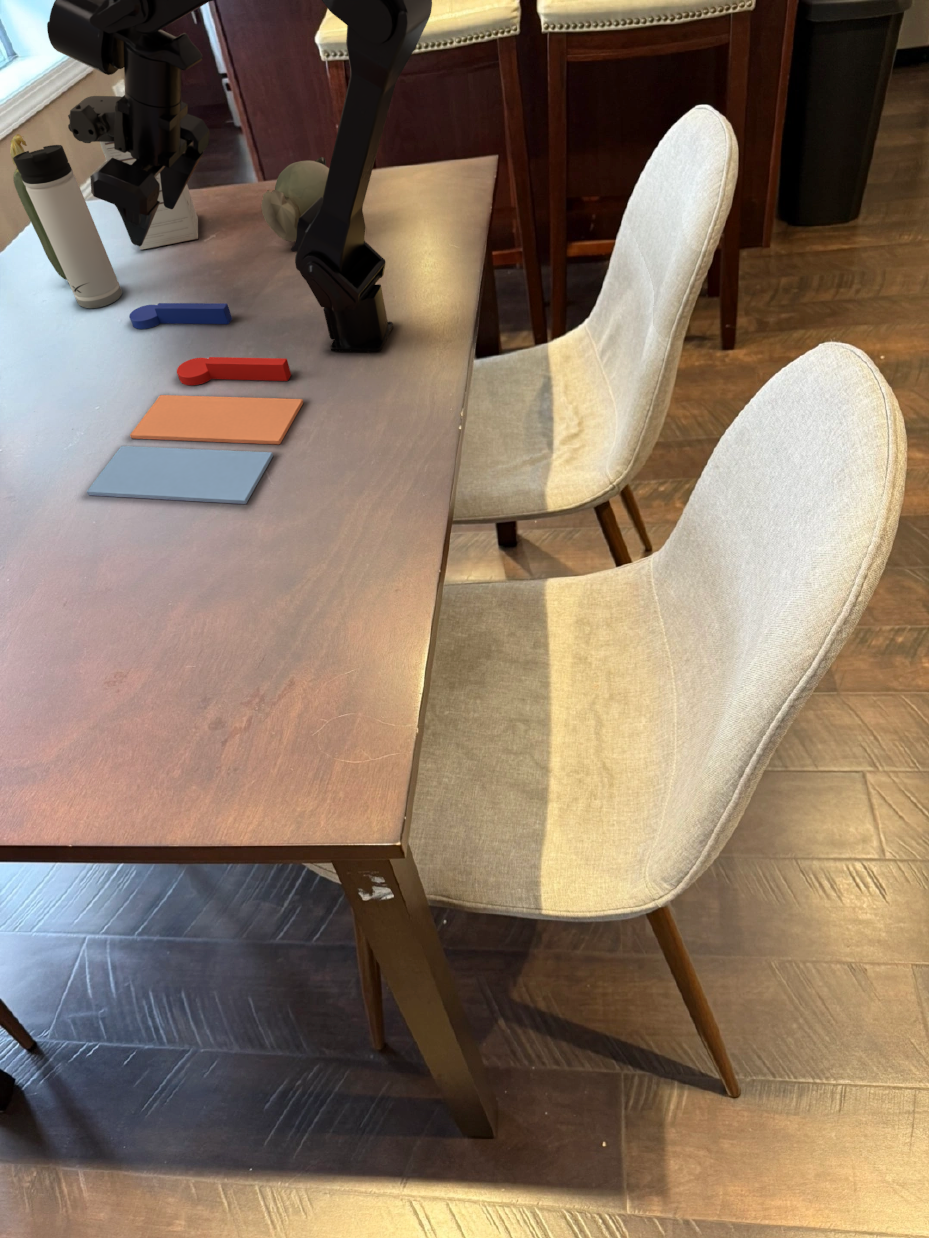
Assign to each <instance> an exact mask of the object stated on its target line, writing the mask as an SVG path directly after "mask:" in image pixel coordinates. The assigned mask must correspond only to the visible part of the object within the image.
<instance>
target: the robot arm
mask: <svg viewBox="0 0 929 1238" xmlns="http://www.w3.org/2000/svg"><path fill="white" fill-rule="evenodd" d="M213 1H214V0H54V2H53V3H52V7H51V9H50V13H49V21H48V22H47V23H46V30H47V36H48V40H49V42H50V45H51V46H52V48H53V49H54V50H55V51H56V52H58V53H60V54H62V55H65V56H67V57H69V58H70V59H73V60H75V61H77V62H79V63H82V64H84V65H85V66H88V67H90V68H91V69H94V70H96V71H98V72H100V73H103V74H105V75H106V76H110V75H111V76H112V75H114V74H115V73H116V72H117V71H118V70H123V72H124V73H123V74H124V78H123V79H124V95H123V96H120V95H119V96H118V95H92V96H87V97H85V98H83V99H82V100H81V101H80V102H79V103H78V104H76V105H75V106H73V107H72V108H71V109H70V110H69V114H68V115H67V117H68V120H69V124H68V125H67V128H68V130H69V131H70V132H71V133H72V136H73V137H74V138H75V140H77V141H78V142H82V143H84V144H91V143H96V142H97V143H100V142H114V149H116V150H118V151H121V152H123V153H126V152H130V153H131V156H132V157H133V158H134V159H136V161H135V162H134V163H133V164H132V165H130V164H128V163H125V162H122V161H120V160H117V159H115V158H111V159H109V160H108V161H107V160H105V162H103V163H102V164H101V165H100V166H99V167H98V168H97V169H96V170H95V171H94V172H92V174H91V175H90V177H89V178H90V192H91V194H92V196H93V197H94V198H96V199H99V200H102V201H104V202H107V203H109V204H112V205H114V206H115V208H116V210H117V212H118V213H119V215H120V218H121V220H122V223H123V225H124V227H125V229H126V232H127V235H128V238H129V240H130V242H131V243H132V244H133V245H135V246H137V247H139V246H141V245H142V244H143V242H144V239H145V237H146V235H147V233H148V230H149V228H150V225H151V223H152V220H153V218H154V216H155V213H156V211H157V209H158V206H159V204H160V201H158V197H159V194H160V184H159V182H158V181H157V180H156V178H155V177H156V176H157V175H158V174H159V173H160V179H161V188H162V196H163V202H164V206H165V207H166V208H169V209H173V208H174V207H175V205H176V203H177V201H178V199H179V197H180V195H181V194H182V192H183V190H184V188H185V186H186V184H187V185H188V182H189V181H190V179H191V177H192V175H193V173H194V172H195V170H196V168H197V166H198V165H199V162H200V161H201V159H202V158H203V156H204V153H205V152H204V151H205V150H206V149H207V147H208V146H209V143H210V129H209V127H208V125H207V124H206V123H205V121H204V120H203V119H202V118H199V117H198V116H195V115H192V114H190V113H188V109H189V107H188V105H189V104H188V103H186V102H183V101H182V81H183V80H182V79H183V78H182V77H183V73H182V72H183V71H187V70H188V69H190V68H191V67H193V66H195V65H197V64H198V63H200V62H201V61H203V54H202V53H201V51H200V50H199V48H198V47H197V46H196V45H195V44H194V43H193V42H192V41H191V39H190V36H189V35H188V34H187V33H186V32H183V33H181V34H180V35H178V36H175V35H173V34H171V33H168V32H166V31H164V30H163V29H164V28H166V27H168V26H170V25H171V24H173V23H175V22H177V21H179V20H181V19H183V18H184V17H187V16H188V15H189V14H191V13H193V12H194V11H196V10H198V9H199V8H201V7H202V6H204V5H206V4H208V3H210V2H213ZM321 1H322V3H323V4H324V5H325V7H326V8H327V10H328V11H329V12H330V13H331V14H332V15H333V16H334V17H336V18H337V19H338V20H340V21H341V22H342V23H344V24H345V25H346V40H345V41H346V42H345V46H346V51H347V57H348V63H349V67H350V68H349V69H350V73H349V79H348V80H349V81H348V85H347V89H346V94H345V97H344V102H343V107H342V111H341V116H340V120H339V123H338V124H339V125H338V128H337V133H336V137H335V143H334V147H333V150H332V154H331V155H332V156H331V159H330V164H329V167H328V168H329V172H328V177H327V181H326V185H325V190H324V194H323V198H322V197H320V198H319V199H318V200H317V201H316V202H315V203H314V204H313V205H312V206H311V207H310V208H309V209H308V210H307V211H306V212H305V213H304V214H303V215H302V216H301V217H300V218H299V220H298V224H297V238H296V241H294V244H293V245H292V247H291V248H290V251H291V252H292V253H295V255H294V264H295V268H296V270H297V271H299V273H300V275H301V277H302V278H303V279H304V280H305V283H306V284H307V285H308V287H309V289H310V291H311V292H312V294H313V296H314V298H315V299H316V301H317V302H318V304H319V306H320V307H321V308H323V315H324V318H325V322H326V327H327V331H328V337H329V338H330V340H332V342H331V344H330V346H329V348H330V349H329V350H330V352H348V353H349V352H350V353H351V352H352V353H353V352H354V353H355V352H357V353H379V352H381V351H382V350H383V348H384V346H385V344H386V342H387V340H388V338H389V336H390V334H391V332H392V329H394V323H393V322H392V321H388V317H387V310H386V305H385V299H384V295H383V289H382V285H381V284H377V283H378V281H379V280H380V279H382V278H383V277H384V274H385V268H386V263H387V262H386V259H385V258H384V257H383V256H381V254H379V253H378V252H377V251H376V250H375V249H374V247H372V246H371V245H369V243H368V242H366V241H365V240H366V239H365V238H366V222H365V217H364V211H363V208H364V202H365V199H366V195H367V192H368V188H369V184H370V180H371V177H372V172H373V169H374V165H375V161H376V158H377V154H378V151H379V147H380V143H381V140H382V135H383V132H384V128H385V125H386V121H387V117H388V113H389V109H390V106H391V103H392V99H393V95H394V92H395V87H396V85H397V82H398V79H399V77H400V75H401V74H402V71H403V70H404V69H405V66H406V65H407V63H408V62H409V59H410V58H411V57H412V55H413V53H414V51H415V50H416V48H417V45H418V43H419V42H420V39H421V37H422V34H423V33H424V30H425V28H426V26H427V24H428V22H429V19H430V18H431V14H432V8H433V0H321Z"/></svg>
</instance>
